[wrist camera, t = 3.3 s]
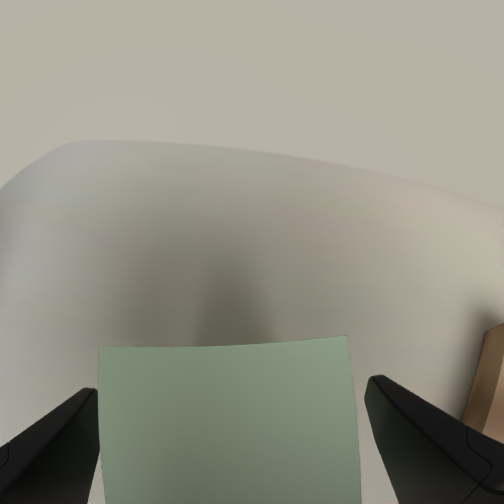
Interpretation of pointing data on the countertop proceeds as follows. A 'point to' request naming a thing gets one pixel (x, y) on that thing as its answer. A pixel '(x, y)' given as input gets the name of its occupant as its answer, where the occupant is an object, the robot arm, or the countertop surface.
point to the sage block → (229, 424)
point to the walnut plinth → (488, 388)
